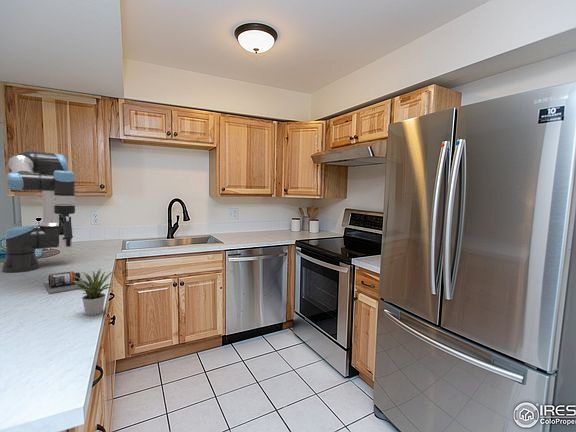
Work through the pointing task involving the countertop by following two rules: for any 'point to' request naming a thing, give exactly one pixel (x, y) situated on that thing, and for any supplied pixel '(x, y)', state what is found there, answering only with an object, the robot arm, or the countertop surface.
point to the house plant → (93, 293)
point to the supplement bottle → (63, 278)
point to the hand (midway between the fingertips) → (65, 250)
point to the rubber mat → (63, 287)
